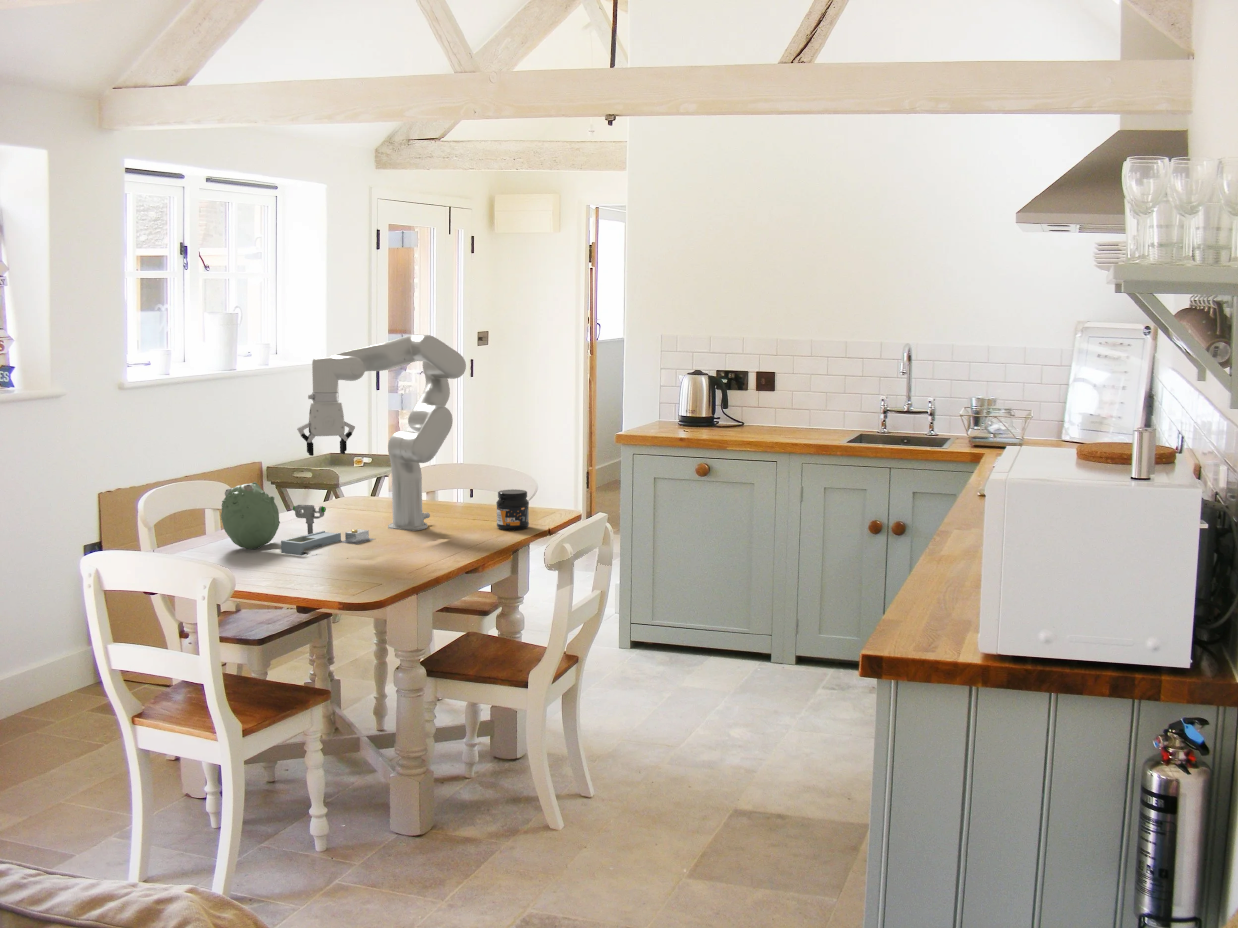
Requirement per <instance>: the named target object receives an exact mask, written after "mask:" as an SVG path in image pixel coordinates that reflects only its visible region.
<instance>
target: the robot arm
mask: <svg viewBox="0 0 1238 928" xmlns="http://www.w3.org/2000/svg"><path fill="white" fill-rule="evenodd" d="M415 362H422V370H423V374H424V378H425V387H424V390H423V391H422V393H421V395H420V396H419V398H418V400H417V401H416V403H415V404H414V407H413V408H412V410H411V411H410V412H409V415H408V419H407V421H408V422H407V425H408V426H409V428H410V429H411V430H413V431H411V430H400V431H396V432H395V433H393V434H392V435H391V436H390V438H389V440H388V443H387V450H388V451H387V452H388V456H389V457H388V458H389V462H390V468H391V470H390V471H391V500H392V505H391V506H392V507H391V508H392V522H390V523H388V524H387V528H388V529H389V530H390V529H391V530H399V531H406V532H407V531H410V532H416V531H417V532H418V531H422V530H426V529H428V523H427V522H425V520H427V519H429V518H430V517H431V514H430V512H423V486H422V485H423V483H422V482H423V479H422V478H423V475H422V468H421V466H420V464H426V463H428V462H429V463H430V462H431V461H432V460H433V459H434V457H436V455H437V453H438V452H439V450H440V448H441V447H442V445H443V443H444V441H445V440H446V438H447V436H449V434H450V432H451V429H452V426H453V419H454V418H453V415H452V413H451V410H450V409H449V408H448V407H446V405H447V404H448V401H449V399H450V397H451V396H450V395H451V389H450V382H449V380H455V379H459V378H461V377H462V376H463V375H464V374H465V372H466V370H467V363H466V360H465V358H464V356H463V355H462V354H461V353H459V352H458V351H457V350H455V349H454V348H452V347H451V346H449V345H448V344H446V343H445V342H443V341H441V340H440V339H439V338H437V337H436V336H433V335H430V334H410V335H405V336H402V337H398V338H396V339H392V340H389V341H385V342H381V343H378V344H373V345H370V346H369V345H368V346H365V347H360V348H354V349H351V350H346V351H343V352H340V353H336V354H332V355H331V356H325V357H324V356H320V357H315V358H313V359H312V363H311V366H312V369H311V370H312V372H311V374H312V393H311V394H308V396H307V399H308V400H311V401H312V402H310V406H309V407H310V408H309V413H308V414H309V416H308V421H307V422H306V423H304V424H302V425H300V426H298V427H297V429H296V430H297V432H298V434H299V435H300V438H302V439H303V440H304V441H305V442H306V453H307V454H308V455H309V456H310V457H313V456H314V442H313V440H315V437H334V436H335V437H336V436H338V437H339V438H340V441H339V453H340V454H341V455H346V452H347V447H348V446H347V445H348V444H347V442H348V440H349V439H350V438H351V437H352V436H353V433H354V431H355V429H356V426H354V425H353V424H351V423H349V422H347V421H345V417H344V416H345V415H344V408H343V403H342V402H339V401H340V399H339V381H345V382H354V381H355V382H356V381H358V380H360V379H361V378H363V376H364V375H365V373H366V372H383V371H390V370H392V369H396V368H399V367H402V366H405V365H408V364H411V363H415ZM346 428H348V430H347V432H346V431H345V430H346ZM306 429H308V433H309V434H308V435H307V434H306V433H305V430H306ZM345 432H346V433H345Z"/></svg>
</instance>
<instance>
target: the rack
mask: <svg viewBox="0 0 1238 928" xmlns="http://www.w3.org/2000/svg"><path fill="white" fill-rule="evenodd" d="M341 537H342V533H341V532H336V533H335V532H329V531H325V530H322V531H317V532H313V534H305V535H300V536H295V537H292V538H287V539H283V540H281V541H280V548H281V550H280V551H281V552H280V553H281V554H285V555H294V556H304V555H308V554H310V552H306V551H308V550H313V549H316V548H319V547H322V546H326V545H329V544H333V543H337V542H341V541H342V540H341Z"/></svg>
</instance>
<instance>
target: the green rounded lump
mask: <svg viewBox="0 0 1238 928" xmlns="http://www.w3.org/2000/svg"><path fill="white" fill-rule="evenodd" d="M224 496H225V497H224V498H223V500H222V501H221V513H220V519H221V523H222V526H223V529H224V532H225V534H226V535H227V537H229V539H230V540H231V542H232V543H233V544H235V545H236V546H238V547H240V548H243V549H246V550H247V549H248V550H257V549H260V548H261V547H262V546H265V545H267V544H269V543H270V542H271V541H272V540H273V539H274V538H275V536H276V534H277V531H278V529H279V527H280V524H281V521H280V514H279V513H280V512H279V508H278V505H277V504H276V502H275V497H274V496H273V495H271V496H270V495H269V493H267V492H265V491H264V490H263V489H262V488H261V486H260V485H259V484H258V482H256V481H253V482H252V483H251V482H250V483H244V484H241V485H240V484H239V485H236V486H235V487H229V488H227V489H225V491H224Z"/></svg>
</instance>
